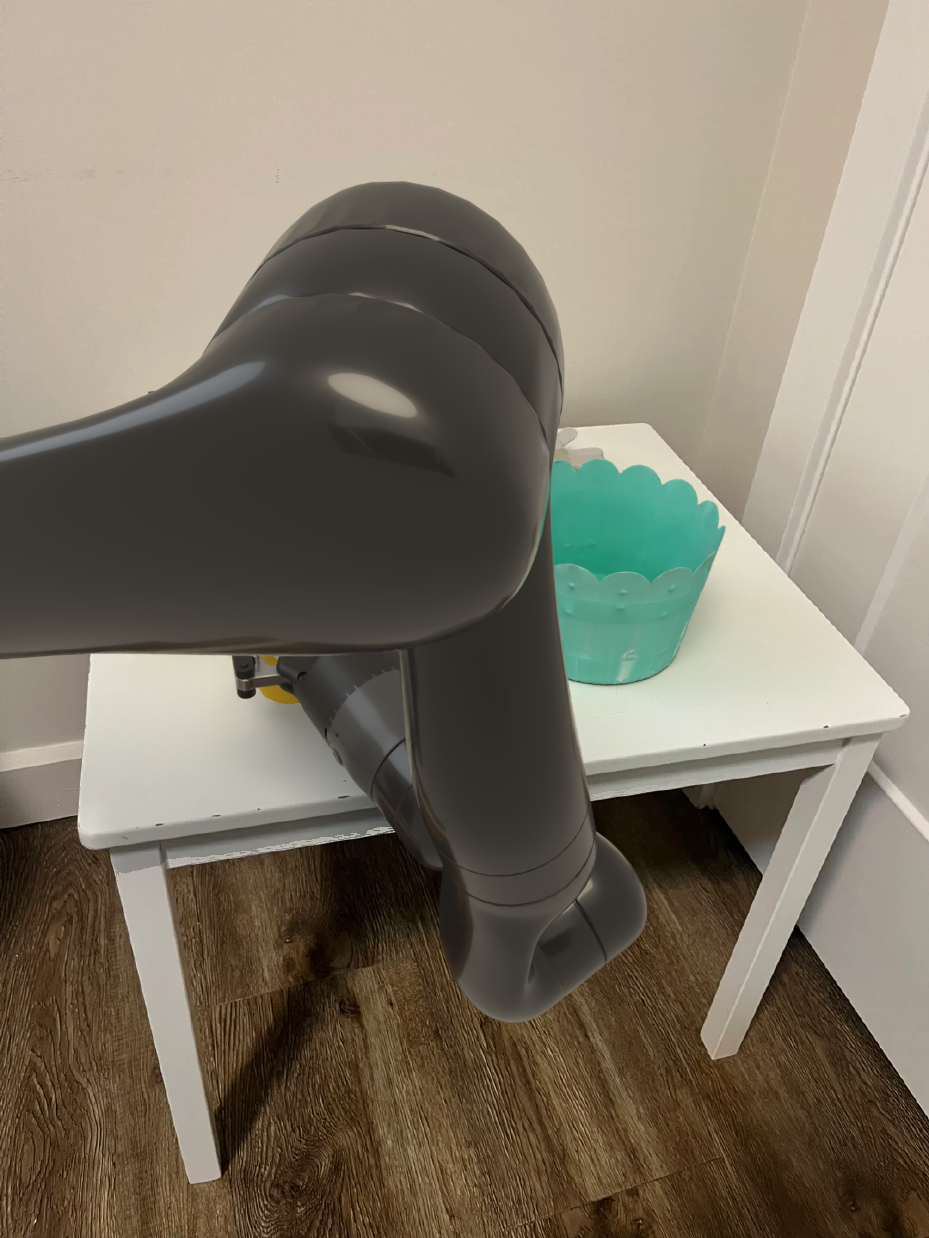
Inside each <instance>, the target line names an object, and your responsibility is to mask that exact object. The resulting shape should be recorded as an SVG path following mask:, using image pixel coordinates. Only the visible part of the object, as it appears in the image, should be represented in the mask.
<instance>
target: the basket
mask: <svg viewBox="0 0 929 1238" xmlns="http://www.w3.org/2000/svg"><path fill="white" fill-rule="evenodd" d="M698 500H699V499H698V494H697V492H696V489H695V488H694V487H693V485H692V484H691V483H690V482H689V481H687V480H685V479H682V478H673V479H669V480H668V481H666V482H665V483H662V481H661V478H660V476H659V475H658V473H657V472H656V471H655V469H653V468H651V467H649V466H647V465H644V464H633V465H631V466H627V468H625V469H623V470H622V471H621V472H620V471H619V469H618V467H617V466H616V465H615V464H614V463H613V461H611V460H608V459H605V458H604V459H602V458H596V459H591V460H588V461H586V462H585V463H583V464H582V465H579V468H577V469H576V468H575V466H574V465H571V464H570V463H569V462H567V461H564V460H556V461H553V465H552V475H551V520H552V544H553V559H554V575H555V586H556V597H557V608H558V616H559V623H560V631H561V638H562V645H563V651H564V658H565V664H566V670H567V676H568V680H569V679H570V680H572V681H575V682H582V683H586V684H590V683H591V684H594V685H599V684H601V685H610V684H611V685H618V684H627V683H635V682H636V681H642V680H644V679H650V678H651V677H653V676H655V675H657V674H658V673H660V672H661V671H663V670H664V669H666V668H667V667H668V666H669V665H670V664H671V663H672V662H673V661H674V660H675V657H677V655H678V652H679V650H680V647H681V645H682V641H683V639H684V637H685V634H686V632H687V629H688V626H689V623H690V621H691V619H692V617H693V614H694V612H695V609H696V607H697V604H698V601H699V599H700V596H701V594H702V593H703V590H704V587H705V585H706V582H707V580H708V577H709V575H710V572H711V570H712V567H713V564H714V562H715V559H716V556H717V554H718V552H719V550H720V546H721V544H722V542H723V539H724V536H725V533H726V525H721V526H720V527H719V524H720V511H719V507H718V505H717V503H716V502H714V501H713V500H710V499H707V500H703V501H701V502H700V503H699V502H698Z"/></svg>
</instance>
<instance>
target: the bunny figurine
mask: <svg viewBox="0 0 929 1238" xmlns="http://www.w3.org/2000/svg"><path fill="white" fill-rule="evenodd" d="M578 435H579V433H578V430H577V429H576V428H574V427H571V426H565V427H563V428H562V429H560V430H559V431H558V433H557V439H556V446H555V452H554V459H553V461H556V460H564V461H567V462H569V463H570V464H571V465H572V466H581V465H582V464H583V463H585V462H586V461H588V460H591V459H596V458H602V459H605V454H604V451H603V449H602V448H600V447H596V446H594V447H592V446H591V447H584V448H576V449H570V450H566V448H565V446H566V445H568V444H570V443H571V442H573V441H574V440H575V439H576V438H577V437H578Z"/></svg>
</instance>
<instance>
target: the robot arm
mask: <svg viewBox="0 0 929 1238" xmlns="http://www.w3.org/2000/svg"><path fill="white" fill-rule="evenodd" d="M562 337H563V336H562V330H561V325H560V321H559V317H558V313H557V309H556V307H555V304H554V302H553V299H552V297H551V294H550V292H549V290H548V287H547V285H546V282H545V279H544V277H543V275H542V274H541V272H540V270H539V269H538V268H537V266H536V265H535V263H534V261H533V259H531V257H530V255H529V254H528V252H527V250H526V249H525V248H524V246H523V245H522V244H521V243H520V242H519V241H518V240H517V239H516V238H515V237H514V236H513V235H512V233H511V232H509V231H508V229H506V227H505V226H504V225H503V224H502V223H501V222H500V221H499V220H498V219H496V218H495V217H493V216H492V215H490V214H489V213H487V212H486V211H485V210H483V209H481V208H480V207H479V206H477V205H476V204H475V203H473V202H472V201H470V200H468V199H465V198H464V197H461V196H459V195H456V194H454V193H452V192H449V191H447V190H444V189H442V188H441V187H435V186H432V185H426V184H421V183H416V182H411V181H406V180H405V181H404V180H401V181H400V180H399V181H398V180H397V181H396V180H395V181H370V182H365V183H360V184H356V185H353V186H349V187H347V188H343V189H341V190H339V191H337V192H335V193H334V194H332V195H329V196H328V197H326V198H324V199H322V200H320V201H318V202H317V203H315V204H314V205H312V206H310V208H308V209H307V210H306V211H305V212H304V213H303V214H302V215H301V216H300V217H298V219H296V220H295V221H294V222H293V223H292V224H291V225H290V226H289V227H288V228H287V229H286V230H285V231H284V232H283V233H282V234H281V235H280V236H279V237H278V238H277V239H276V241H275V243H273V245H272V246H271V248H270V249H269V250H268V252H267V253H266V255H265V256H264V257H263V259H262V261H261V262H260V263H259V265H258V266H257V268H256V269H255V270H254V272H253V274H252V275H251V277H250V278H249V279H248V281H247V282H246V284H245V285H244V287H243V288H242V290H241V291H240V293H239V294H238V296H237V298H236V299H235V301H234V302H233V304H232V306H231V307H230V309H229V311H228V312H227V313H226V315H225V317H224V318H223V320H222V322H221V323H220V325H219V326H218V328H217V330H216V331H215V332H214V335H212V338H211V339H210V341H209V342H208V344H207V345H206V347H205V349H204V351H203V352H202V355H201V356H200V358H198V359H197V360H196V361H195V362H194V363H193V364H192V365H190V366H189V367H188V368H187V369H185V371H183V372H182V373H180V374H179V375H178V376H176V377H175V378H174V379H173V380H171V381H169V382H168V383H166V384H164V385H163V386H162V387H160V388H158V389H156V390H152V391H153V392H151V393H149V394H148V393H147V394H145V395H142V396H139V397H137V398H135V399H132V400H129V401H127V402H125V403H122V404H119V405H117V406H114V407H112V408H108V409H105V410H102V411H99V412H96V413H93V414H89V415H86V416H84V417H80V418H78V419H77V418H76V419H74V420H70V421H65V422H61V423H58V424H53V425H49V426H46V427H42V428H37V429H34V430H33V429H32V430H30V431H26V432H21V433H18V434H14V435H9V436H0V660H1V661H2V660H13V659H14V660H15V659H26V658H27V659H28V658H40V657H41V658H42V657H53V656H55V657H56V656H57V657H58V656H77V655H168V656H169V655H171V656H172V655H175V656H178V655H179V656H231V660H232V667H233V674H234V682H235V687H236V689H235V690H236V694H237V697H238V698H240V699H243V700H249V699H252V698H254V697H255V696H256V694H257V689H259V688H260V687H267V686H275V685H279V687H280V688H281V689H282V690H284V691H285V692H288V693H290V694H292V695H293V696H295V697H296V698H297V700H298V701H299V705H300V706H301V708H302V710H303V712H304V713H305V715H306V716H307V717H308V718H309V720H310V722H311V723H312V725H313V726H314V727H315V729H316V730H317V731H318V733H319V734H320V736H321V738H323V740H324V741H325V743H326V744H327V746H328V747H329V748H330V750H331V752H332V754H333V756H334V759H335V760H336V762H337V763H338V764H339V766H341V767H343V768H344V770H345V771H346V773H347V774H348V775H349V777H350V778H351V779H352V781H353V782H354V783H355V784H356V785H357V786H358V788H360V790H362V791H363V792H364V793H365V794H366V795H367V796H368V797H369V799H371V801H372V802H373V803H374V805H375V806H376V807H377V808H378V810H379V811H380V813H381V814H382V816H383V817H384V818H385V819H386V821H387V823H388V824H389V825H390V827H391V828H392V830H393V831H394V832H395V834H396V835H397V837H398V838H399V840H400V841H401V842H402V844H403V845H404V847H405V848H406V850H407V851H408V852H409V854H410V855H411V856H412V857H413V858H414V859H415V860H416V861H417V862H418V863H419V864H420V865H421V866H423V868H426V869H428V870H431V871H433V872H434V871H435V872H441V881H440V883H441V884H440V894H439V904H438V928H439V935H440V941H441V946H442V951H443V955H444V958H445V961H446V964H447V966H448V969H449V971H450V974H451V976H452V978H453V980H454V981H455V984H456V986H457V987H458V988H459V990H460V991H461V993H462V994H463V995H464V997H465V998H466V999H467V1000H468V1002H469V1003H471V1005H472V1006H473V1007H474V1008H476V1009H477V1010H478V1011H479V1012H480V1013H482V1014H483V1015H485V1016H487V1017H488V1018H490V1019H493V1020H496V1021H499V1022H502V1023H510V1024H518V1023H526V1022H529V1021H532V1020H534V1019H537V1018H539V1017H540V1016H542V1015H544V1014H545V1013H546V1012H548V1011H549V1010H550V1009H552V1008H553V1007H555V1006H556V1005H557V1004H558V1003H560V1002H561V1001H562V1000H563V999H564V997H567V996H568V995H569V994H570V993H572V992H573V991H574V990H576V989H577V988H578V987H579V986H581V985H582V984H584V983H585V982H586V981H587V980H589V979H590V978H591V977H592V976H594V975H595V974H596V973H597V972H598V971H600V970H601V969H603V968H604V967H605V965H606V964H609V963H610V962H612V961H613V960H614V959H615V958H616V957H618V956H620V954H622V953H623V952H624V951H625V950H627V949H628V948H630V946H631V945H633V944H634V942H635V941H636V940H637V939H638V938H639V937H640V936H641V934H642V933H643V931H644V929H645V927H646V923H647V922H646V921H647V916H648V906H647V905H648V904H647V899H646V893H645V889H644V886H643V884H642V883H643V882H642V881H641V879H640V877H639V874H638V873H637V871H636V869H635V868H634V866H633V865H632V863H631V862H630V861H629V859H627V857H626V856H625V855H624V853H622V852H621V850H619V848H617V847H616V845H614V844H613V843H612V842H611V841H610V840H609V839H607V838H606V837H605V836H603V835H602V834H600V833H599V832H598V831H597V827H596V822H595V817H594V812H593V806H592V799H591V795H590V790H589V789H590V788H589V784H588V783H589V782H588V778H587V773H586V768H585V763H584V758H583V753H582V747H581V744H580V743H581V742H580V739H579V732H578V727H577V722H576V717H575V711H574V705H573V701H572V700H573V699H572V695H571V688H570V683H569V679H568V676H567V670H566V664H565V658H564V651H563V645H562V638H561V631H560V623H559V616H558V608H557V597H556V586H555V575H554V559H553V544H552V520H551V475H552V465H553V459H554V452H555V446H556V439H557V434H558V433H559V426H560V421H561V416H562V413H563V405H564V399H565V371H566V370H565V353H564V351H565V350H564V345H563V338H562ZM259 656H273V657H275V658H276V659H277V660H278V661H277V664H276V666H271V665H268V664H267V663H266V662H265V660H264V659H263V658H262V657H259Z"/></svg>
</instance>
